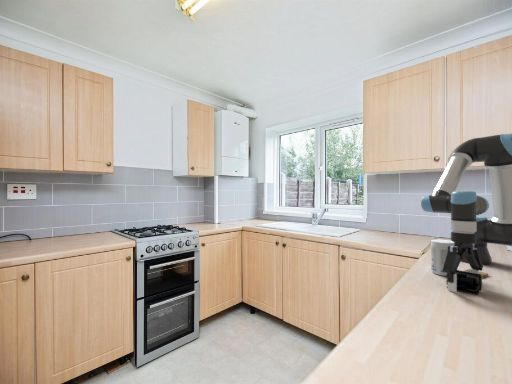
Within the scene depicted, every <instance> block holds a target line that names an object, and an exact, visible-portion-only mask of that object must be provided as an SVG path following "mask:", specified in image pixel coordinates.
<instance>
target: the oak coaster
mask: <svg viewBox="0 0 512 384" xmlns="http://www.w3.org/2000/svg"><path fill="white" fill-rule="evenodd" d="M470 269H471V268H468V269H465V270H464V271H465V272H470ZM479 274H481V275H482V279H484V278H487V277H489V273H488V272H484V271H483V272H482V271H479Z"/></svg>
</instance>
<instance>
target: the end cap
mask: <svg viewBox="0 0 512 384" xmlns="http://www.w3.org/2000/svg"><path fill="white" fill-rule="evenodd" d="M455 274H457V292H461V293H465V294H470V295H473V296H478V295H479V293H480V292H481V291H482V288H483V278H482V275H481V274H476V273H471V272H465V270H456V272H455ZM445 277H447V275H446V276H445ZM445 282H446V288H447V290H448V281H447V280H446V281H445Z"/></svg>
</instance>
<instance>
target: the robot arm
mask: <svg viewBox="0 0 512 384" xmlns="http://www.w3.org/2000/svg"><path fill="white" fill-rule="evenodd" d="M480 162H482V163H483V165H484V167H486V168H487V169H488V171H489V179H490V187H491V188H490V190H491V198H492V207H493V209H492V210H493V215H492V216H491V217H490V218H489V219H488V217H487V216H480V215H482V214H484V213H486V212H487V211H488V210H489V208H490V203H489V200H487V199H486V198H485V197H483V196H480V195H477V193H476V191H471V190H468V191H467V190H466V191H465V190H463V191H461V190H460V191H459V190H457V188H458V186H459V184H460V182H461V181H462V179H463V176H464V174H465V172H466V171H467V168H469V167H470V166H471V165H472V164H473V163H480ZM456 190H457V191H456ZM420 207H421V209H422V210H423V211H424V212H425V213H436V214H437V213H438V214H450V230H452V231H451V232H450V241H453V242H454V243H455V244H454V246H448V253H447V256H446V260H445V263H444V267H443V271H444V272H446V273H447V276H446V279H447V280H446V281H448V285H447V286H448V289H447V291H450V292H452V293H457V292H458V291H457V274H455V272H456V270H457V268H458V267H459V266H460V263H461V262H464V263H468V264H469V266H470V268H469V269H470V272H471V273H476V274H479V272H482V271H483V269H484V265H492V262H493V261H492V260H493V259H492V256H491V254H490V252H489V251H490V250H489V249H488V244H494V245H502V246H508V247H509V246H510V247H512V133H500V134H494V135H489V136H483V137H482V136H481V137H476V138H471V139H468V140H466V141H464V142H462V143H461V144H458V146H457V147H456V148H454V149H453V150H452V151H451V153H450V154H449V156H448V159H447V165H446V167H445V168H444V171H443V173H442V175H441V176H440V178H439V179H438V182H437V183H436V185H435V187H434V189H433V191H432V193H431V194H430V195H429V194H427V195H423V196H422V198H421V200H420ZM452 252H453V253H452Z"/></svg>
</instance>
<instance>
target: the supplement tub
mask: <svg viewBox="0 0 512 384" xmlns="http://www.w3.org/2000/svg"><path fill="white" fill-rule="evenodd" d="M430 242H431V243H430V261H431V262H430V263H431V264H430V266H431V272H432V273H433V274H435V275H438V276H442V277H443V276H444V277H447V276H446V275H447V273H446V272H444V271H443V267H444V263H445V260H446V256H447V253H448V246H454V244H455V243H454V242H453V241H451V239H450V240H449V239H437V238H436V239H431V240H430ZM452 253H453V252H452ZM457 270H458V268H457Z"/></svg>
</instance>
